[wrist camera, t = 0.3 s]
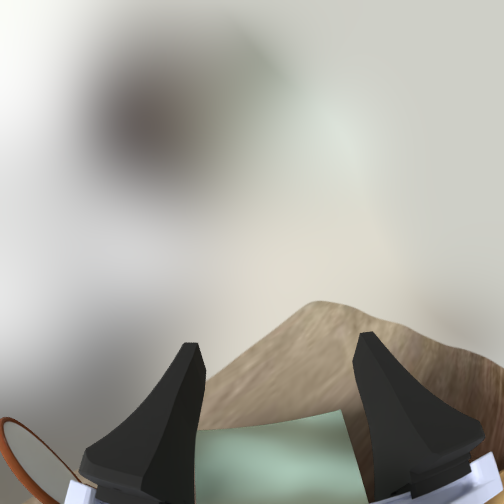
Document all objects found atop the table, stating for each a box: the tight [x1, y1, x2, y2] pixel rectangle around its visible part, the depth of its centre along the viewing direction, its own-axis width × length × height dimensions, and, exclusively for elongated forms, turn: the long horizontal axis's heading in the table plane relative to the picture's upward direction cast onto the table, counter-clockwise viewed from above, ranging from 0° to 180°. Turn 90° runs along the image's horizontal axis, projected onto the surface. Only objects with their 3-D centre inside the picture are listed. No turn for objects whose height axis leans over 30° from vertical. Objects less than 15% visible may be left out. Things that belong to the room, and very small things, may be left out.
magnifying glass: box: [0, 417, 97, 504], centre depth 12 cm, size 9×2×20 cm, turn 55°
